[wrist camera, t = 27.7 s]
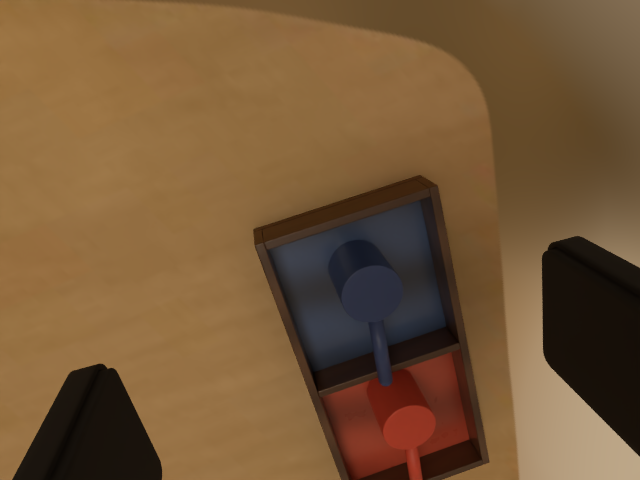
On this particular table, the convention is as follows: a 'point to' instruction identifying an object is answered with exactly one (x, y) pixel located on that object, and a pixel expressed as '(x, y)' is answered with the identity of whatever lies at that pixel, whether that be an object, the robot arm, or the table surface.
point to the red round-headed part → (403, 416)
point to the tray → (400, 327)
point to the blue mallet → (367, 294)
